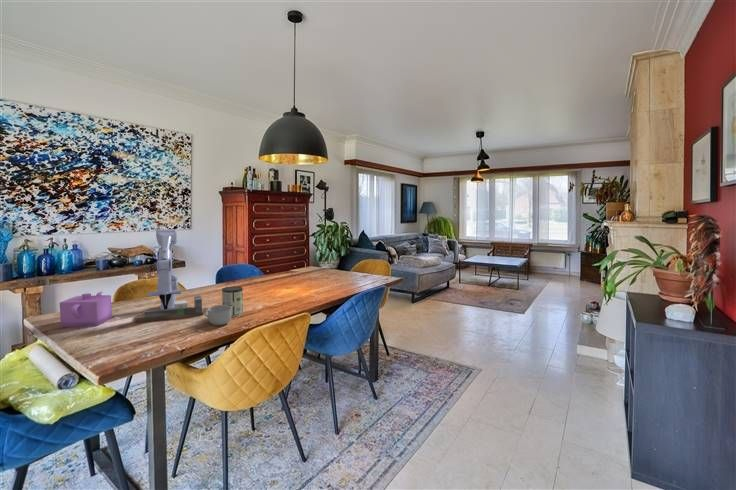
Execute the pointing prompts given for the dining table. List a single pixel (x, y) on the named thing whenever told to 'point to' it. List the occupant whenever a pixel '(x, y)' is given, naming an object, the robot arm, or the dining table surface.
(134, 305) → the dining table surface
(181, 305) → the gauge slider
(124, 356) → the dining table surface
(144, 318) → the gauge base
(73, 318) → the purple box
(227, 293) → the coffee can
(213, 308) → the teacup
